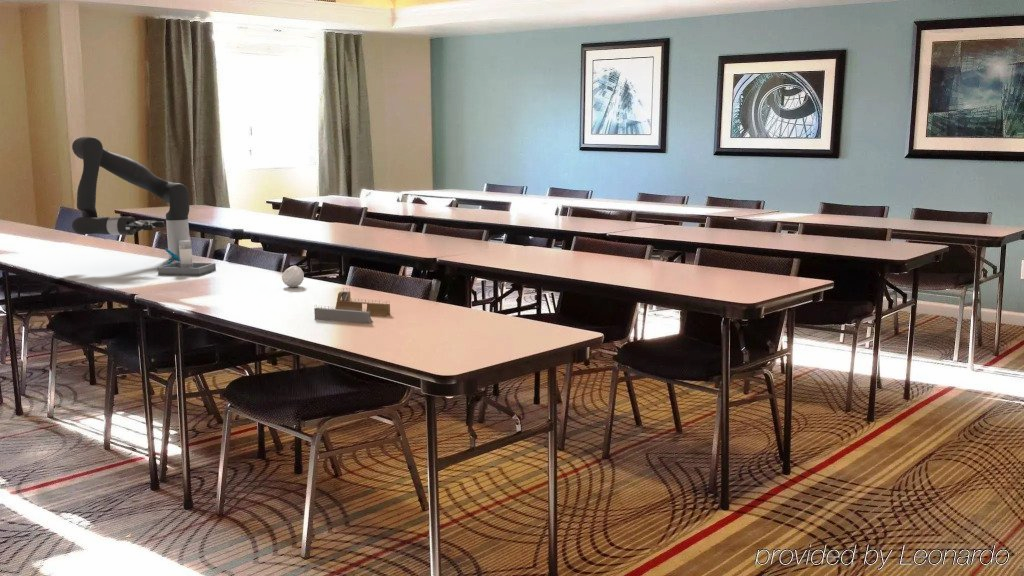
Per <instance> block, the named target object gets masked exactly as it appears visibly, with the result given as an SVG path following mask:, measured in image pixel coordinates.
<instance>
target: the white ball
mask: <svg viewBox="0 0 1024 576" xmlns="http://www.w3.org/2000/svg"><path fill="white" fill-rule="evenodd" d="M304 275H305V273H304V271H303V270H302V268H301V267H300V266H297V265H292V266H290V267H288V268H286V269H285V270H284V271H283V273H282V275H281V281H282V282H283V284H284V285H286V286H287V287H289V288H297V287H300V286H301V284H303V281H304Z"/></svg>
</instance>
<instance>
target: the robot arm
mask: <svg viewBox="0 0 1024 576" xmlns="http://www.w3.org/2000/svg"><path fill="white" fill-rule="evenodd" d="M71 148H72V152H73V153H74V155H75V156H76V158H78V159H80V160H83V162H82V164H83V166H82V167H83V168H82V169H83V170H82V174H81V177H80V180H79V183H78V187H77V192H76V193H77V194H76V208H77V211H80V212H81V215H82V216H78V217H75V218H74V220H73V221H72V222H71V228H72V231H73V232H75V233H76V234H78V235H93V234H95V235H97V234H98V235H112V236H113V235H115V236H133V235H134V234H136V233H137V232H143V231H153V230H154V228H165V227H166V235H167V238H166V239H167V249H168V250H169V251H171V252H172V253H173V254H176V255H177V257H178V258H179V259H180V253H179V241H182V240H191V236H190V228H189V227H190V226H189V214H190V194H189V193H190V192H189V189H188V188H187V186H186V185H184V184H183V183H179V182H171V181H168V180H165V179H163V178H160V177H158V176H157V175H155V174H154V173H153V172H152V171H151V170H150V169H149V168H148V167H147V166H145V165H143V164H141V162H138V161H137V160H134V159H133V158H129V157H127V156H125V155H121V154H118V153H115V152H111V151H108V149H105V148H104V147H103V144H102V142H101V140H100V139H98V138H97V137H95V136H82V137H79V138H75V140H74V141H73V142H72V145H71ZM100 168H103V169H105V170H106V171H107V172H110V173H111V174H113V175H115V176H116V177H118V178H120V179H122V180H123V181H125V182H128V183H129V184H131V185H133V186H137V187H138V188H141V189H142V190H145V191H148V192H150V193H151V194H153V195H155V196H156V197H158V198H159V199H161V200H162V201H164V202H166V203H167V204H169V208H168V209H169V210H168V212H166V213H165V221H157V220H142V219H140V220H136V218H135V217H133V216H110V217H109V216H106V217H105V216H103V217H98V212H97V208H96V203H97V201H96V200H97V183H98V178H99V171H100ZM165 223H166V224H165ZM167 253H168V252H167ZM171 256H172V255H170V254H169V253H168V259H169V260H171V259H170V258H171Z"/></svg>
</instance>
